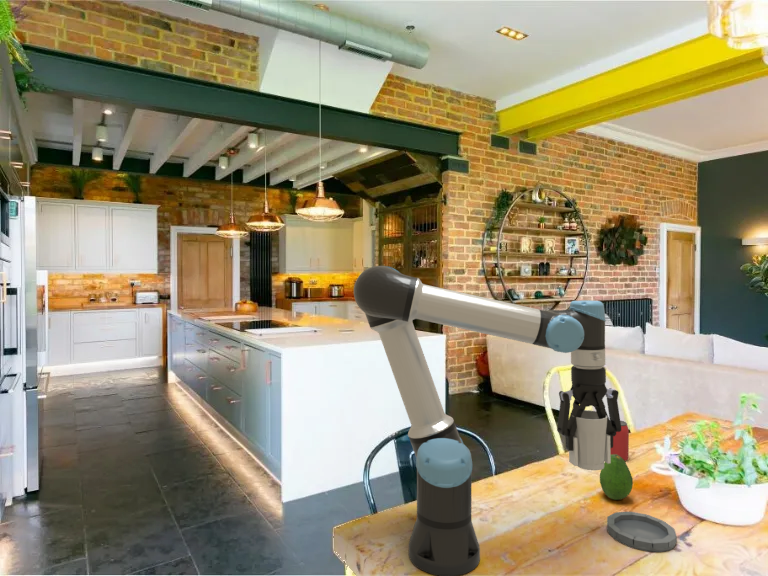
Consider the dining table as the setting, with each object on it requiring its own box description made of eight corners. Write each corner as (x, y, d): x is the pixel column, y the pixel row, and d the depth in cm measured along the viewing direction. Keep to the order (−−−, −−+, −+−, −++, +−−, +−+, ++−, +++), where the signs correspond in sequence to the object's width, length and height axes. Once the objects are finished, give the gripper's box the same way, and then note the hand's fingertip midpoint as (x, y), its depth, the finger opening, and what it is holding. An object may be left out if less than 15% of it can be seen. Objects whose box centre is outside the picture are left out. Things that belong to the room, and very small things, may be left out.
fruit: (632, 495, 133) (632, 451, 133) (633, 508, 126) (633, 461, 126) (599, 490, 137) (600, 447, 136) (599, 502, 129) (599, 457, 129)
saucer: (630, 554, 105) (630, 544, 105) (595, 521, 119) (595, 513, 119) (690, 550, 107) (690, 541, 107) (649, 518, 121) (649, 510, 121)
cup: (612, 472, 111) (611, 420, 110) (575, 470, 112) (574, 419, 112) (603, 459, 119) (602, 410, 118) (568, 458, 120) (567, 409, 120)
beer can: (612, 453, 165) (612, 418, 164) (632, 459, 160) (632, 422, 159) (602, 458, 160) (602, 421, 160) (622, 464, 155) (623, 426, 155)
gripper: (554, 371, 110) (556, 471, 111) (638, 366, 112) (639, 465, 113) (540, 365, 117) (541, 459, 118) (619, 361, 120) (620, 453, 120)
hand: (589, 462), depth 115 cm, fingers closed on cup, 7 cm apart
